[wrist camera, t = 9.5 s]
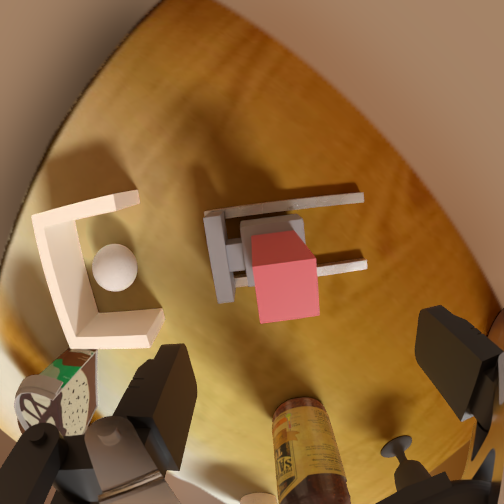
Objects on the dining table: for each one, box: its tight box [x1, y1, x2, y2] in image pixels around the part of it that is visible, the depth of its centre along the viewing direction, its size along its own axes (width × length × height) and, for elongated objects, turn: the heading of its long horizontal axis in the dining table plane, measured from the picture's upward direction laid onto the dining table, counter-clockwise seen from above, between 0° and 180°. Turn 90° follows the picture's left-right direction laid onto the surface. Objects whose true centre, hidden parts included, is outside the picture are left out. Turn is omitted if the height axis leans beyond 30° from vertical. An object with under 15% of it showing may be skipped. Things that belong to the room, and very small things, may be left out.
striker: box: [203, 211, 319, 324], centre depth 19 cm, size 7×6×10 cm
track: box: [204, 192, 367, 287], centre depth 25 cm, size 13×7×1 cm, turn 98°
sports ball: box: [92, 244, 138, 291], centre depth 24 cm, size 4×4×4 cm
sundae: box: [381, 436, 431, 492], centre depth 26 cm, size 7×7×15 cm
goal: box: [31, 190, 165, 349], centre depth 23 cm, size 8×12×5 cm
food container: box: [14, 348, 98, 436], centre depth 24 cm, size 12×6×10 cm, turn 164°
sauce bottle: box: [272, 397, 351, 504], centre depth 21 cm, size 6×6×20 cm
